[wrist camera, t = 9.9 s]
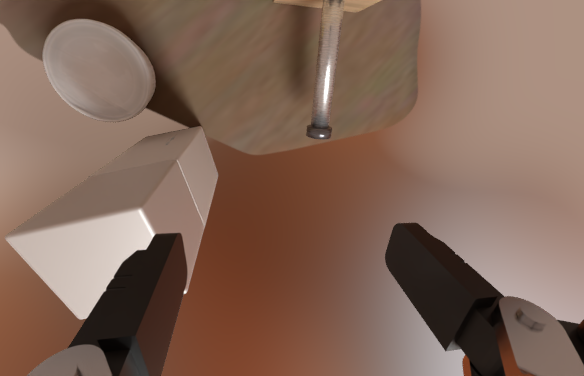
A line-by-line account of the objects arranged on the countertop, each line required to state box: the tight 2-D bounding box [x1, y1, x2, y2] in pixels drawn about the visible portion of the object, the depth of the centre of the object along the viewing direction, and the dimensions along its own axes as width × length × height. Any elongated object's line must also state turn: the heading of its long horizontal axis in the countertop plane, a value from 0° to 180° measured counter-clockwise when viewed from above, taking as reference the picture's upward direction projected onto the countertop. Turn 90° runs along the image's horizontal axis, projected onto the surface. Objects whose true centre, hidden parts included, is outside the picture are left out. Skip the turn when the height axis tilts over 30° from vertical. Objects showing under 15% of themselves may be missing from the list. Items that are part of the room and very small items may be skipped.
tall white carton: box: [5, 126, 218, 319], centre depth 29 cm, size 9×9×25 cm
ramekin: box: [42, 19, 156, 122], centre depth 31 cm, size 11×11×5 cm
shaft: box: [306, 0, 345, 139], centre depth 29 cm, size 19×3×3 cm, turn 176°
